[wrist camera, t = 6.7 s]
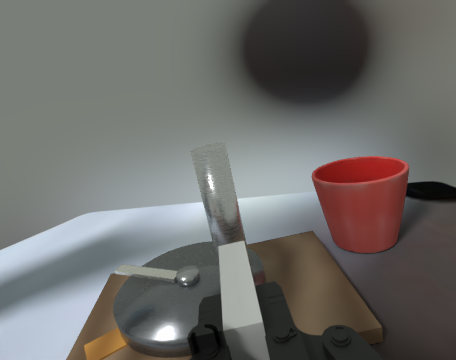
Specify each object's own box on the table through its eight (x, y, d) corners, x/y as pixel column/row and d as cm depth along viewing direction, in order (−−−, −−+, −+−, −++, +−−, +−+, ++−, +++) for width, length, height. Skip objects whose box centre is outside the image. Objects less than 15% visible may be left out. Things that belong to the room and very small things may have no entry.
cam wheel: (69, 332, 33) (6, 188, 28) (163, 249, 46) (131, 143, 41) (225, 378, 24) (171, 180, 19) (286, 260, 37) (262, 125, 33)
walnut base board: (52, 412, 26) (44, 397, 26) (114, 283, 44) (110, 272, 43) (383, 341, 26) (381, 325, 26) (314, 240, 43) (312, 229, 43)
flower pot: (327, 219, 49) (320, 158, 46) (410, 220, 43) (407, 152, 41) (313, 257, 40) (302, 185, 37) (414, 264, 35) (411, 181, 32)
